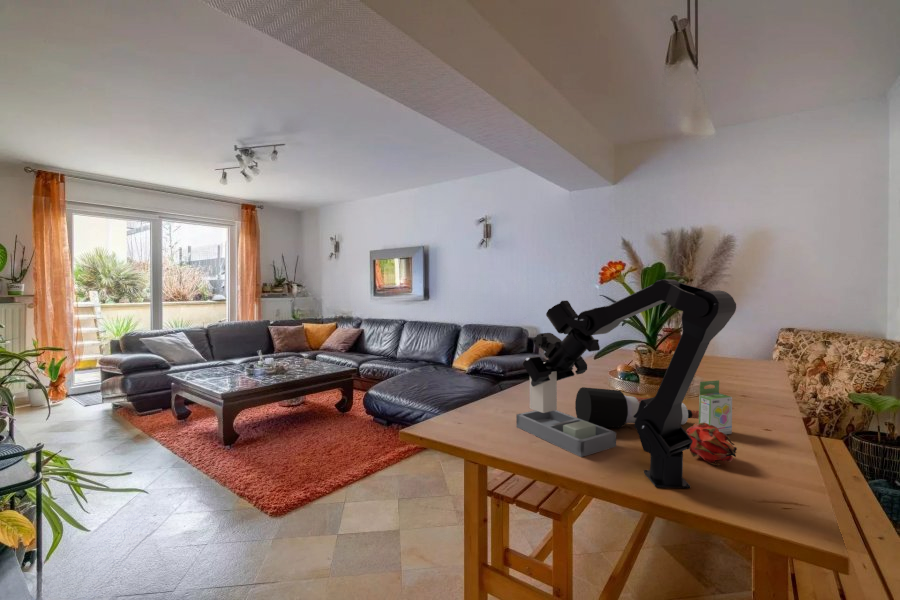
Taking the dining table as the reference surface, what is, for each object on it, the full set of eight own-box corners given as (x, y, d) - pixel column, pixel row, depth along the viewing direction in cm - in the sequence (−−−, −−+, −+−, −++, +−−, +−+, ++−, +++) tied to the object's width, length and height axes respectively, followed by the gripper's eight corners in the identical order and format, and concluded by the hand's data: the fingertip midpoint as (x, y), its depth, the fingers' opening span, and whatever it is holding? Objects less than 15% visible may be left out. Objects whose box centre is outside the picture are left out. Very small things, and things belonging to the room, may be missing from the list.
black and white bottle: (701, 441, 113) (717, 414, 108) (583, 433, 109) (594, 405, 105) (681, 414, 121) (696, 388, 117) (572, 406, 118) (582, 379, 113)
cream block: (556, 409, 108) (556, 365, 108) (543, 413, 106) (543, 367, 105) (543, 405, 112) (542, 362, 112) (529, 408, 110) (529, 364, 109)
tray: (616, 446, 98) (616, 428, 98) (580, 457, 92) (581, 437, 92) (548, 419, 118) (548, 404, 118) (516, 426, 112) (516, 410, 112)
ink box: (711, 437, 104) (712, 385, 103) (697, 431, 108) (698, 381, 107) (732, 434, 106) (733, 383, 105) (718, 429, 109) (719, 379, 109)
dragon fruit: (688, 453, 97) (732, 484, 86) (666, 436, 95) (707, 466, 84) (710, 425, 97) (756, 452, 86) (688, 408, 95) (733, 433, 83)
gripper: (578, 321, 110) (548, 356, 120) (527, 325, 100) (499, 363, 110) (603, 354, 104) (569, 388, 113) (551, 362, 94) (519, 398, 103)
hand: (539, 383), depth 110 cm, fingers closed on cream block, 5 cm apart
